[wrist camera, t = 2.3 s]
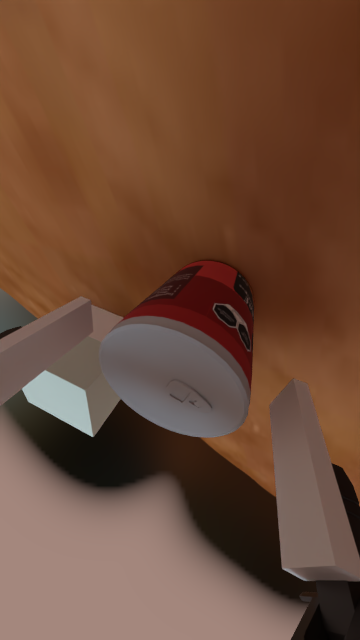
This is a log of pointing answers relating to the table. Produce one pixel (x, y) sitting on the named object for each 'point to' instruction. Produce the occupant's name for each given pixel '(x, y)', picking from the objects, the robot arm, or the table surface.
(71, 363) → the tower top
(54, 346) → the robot arm
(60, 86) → the table surface
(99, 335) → the tower base
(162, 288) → the canned food
